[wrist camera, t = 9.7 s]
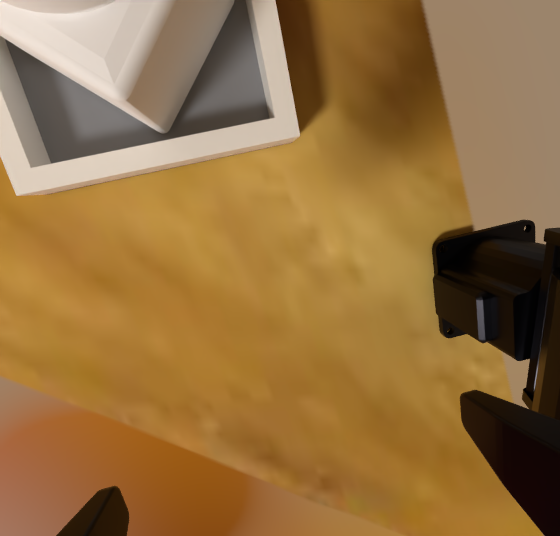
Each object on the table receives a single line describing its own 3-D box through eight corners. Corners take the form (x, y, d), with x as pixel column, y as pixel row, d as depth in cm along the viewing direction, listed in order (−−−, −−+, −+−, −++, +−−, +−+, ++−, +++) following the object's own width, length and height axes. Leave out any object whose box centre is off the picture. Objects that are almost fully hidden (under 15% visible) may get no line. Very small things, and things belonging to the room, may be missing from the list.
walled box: (233, -163, 15) (233, -231, 12) (291, 142, 18) (300, 135, 16) (-74, -119, 14) (-138, -183, 12) (47, 194, 17) (16, 195, 15)
